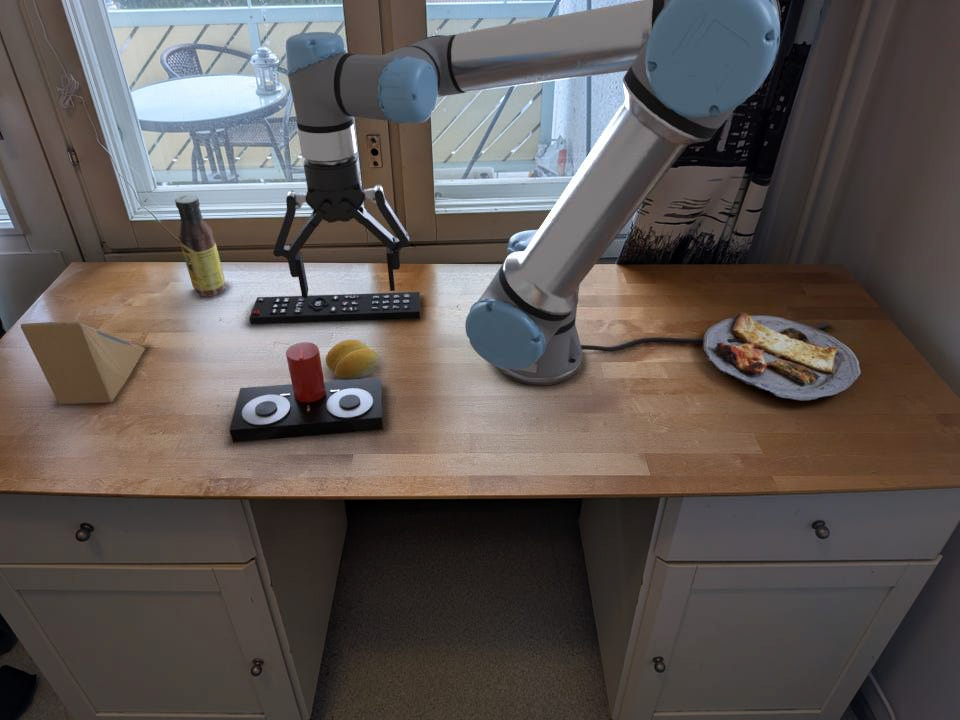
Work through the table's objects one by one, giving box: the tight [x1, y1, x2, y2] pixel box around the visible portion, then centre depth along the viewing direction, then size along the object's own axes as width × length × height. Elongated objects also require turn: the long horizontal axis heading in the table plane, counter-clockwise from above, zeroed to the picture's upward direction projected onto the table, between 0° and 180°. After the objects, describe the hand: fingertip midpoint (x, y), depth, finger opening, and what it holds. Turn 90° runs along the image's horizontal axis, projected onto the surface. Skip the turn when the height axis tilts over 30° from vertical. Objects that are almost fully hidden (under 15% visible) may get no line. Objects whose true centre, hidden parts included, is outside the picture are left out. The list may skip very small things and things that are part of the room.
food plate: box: [701, 311, 862, 401], centre depth 112 cm, size 25×23×4 cm
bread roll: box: [325, 339, 379, 380], centre depth 110 cm, size 8×9×4 cm
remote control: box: [249, 291, 421, 326], centre depth 125 cm, size 8×32×2 cm, turn 94°
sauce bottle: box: [174, 194, 226, 297], centre depth 126 cm, size 7×6×20 cm
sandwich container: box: [20, 321, 146, 405], centre depth 104 cm, size 9×15×15 cm, turn 4°
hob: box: [228, 377, 384, 444], centre depth 101 cm, size 22×12×3 cm, turn 98°
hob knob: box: [285, 341, 326, 403], centre depth 99 cm, size 5×5×8 cm
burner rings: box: [242, 388, 373, 426], centre depth 98 cm, size 19×7×1 cm, turn 98°
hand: (349, 290), depth 103 cm, fingers open, 13 cm apart
